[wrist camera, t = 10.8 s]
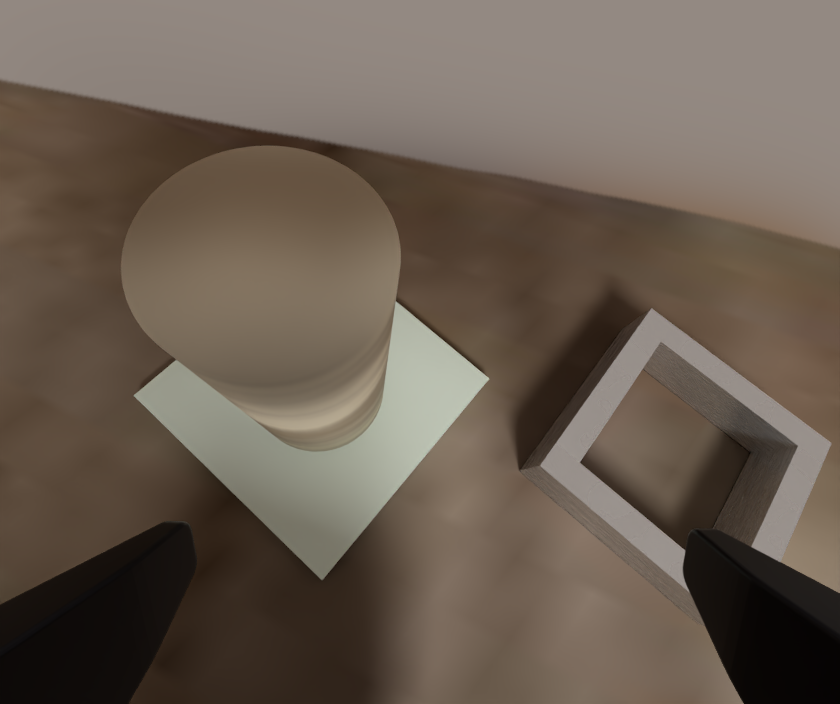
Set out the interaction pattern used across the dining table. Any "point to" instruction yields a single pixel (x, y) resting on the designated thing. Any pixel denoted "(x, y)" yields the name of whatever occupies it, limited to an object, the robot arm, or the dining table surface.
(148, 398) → the sage board
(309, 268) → the maple peg
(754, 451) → the grey square frame
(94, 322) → the dining table surface
